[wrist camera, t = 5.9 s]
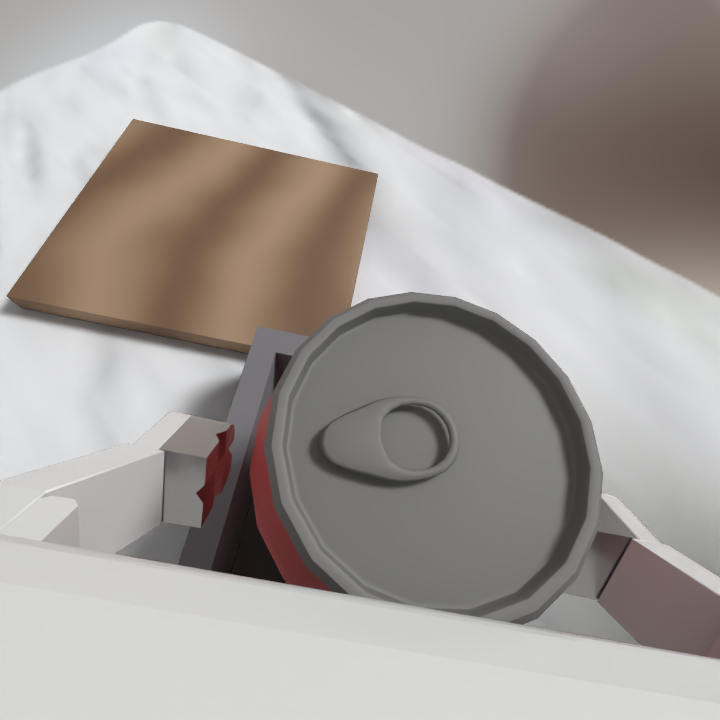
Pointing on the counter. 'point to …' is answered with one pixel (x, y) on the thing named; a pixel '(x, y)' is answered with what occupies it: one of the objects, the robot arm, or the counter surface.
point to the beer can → (427, 462)
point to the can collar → (240, 452)
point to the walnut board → (204, 241)
